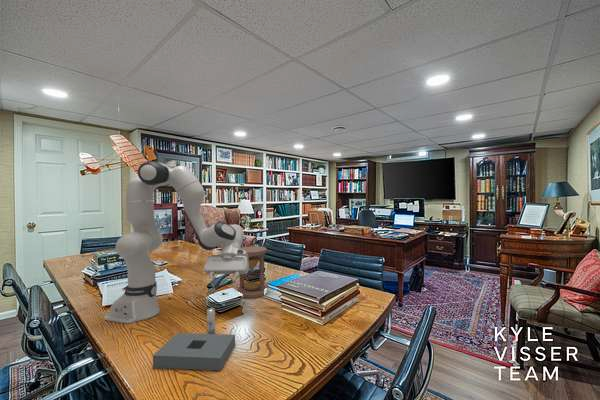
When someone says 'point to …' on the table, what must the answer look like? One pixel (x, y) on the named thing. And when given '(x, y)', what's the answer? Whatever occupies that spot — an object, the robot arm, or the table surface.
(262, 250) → the hourglass
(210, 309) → the peg
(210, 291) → the valve
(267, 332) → the table surface
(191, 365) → the hole block
